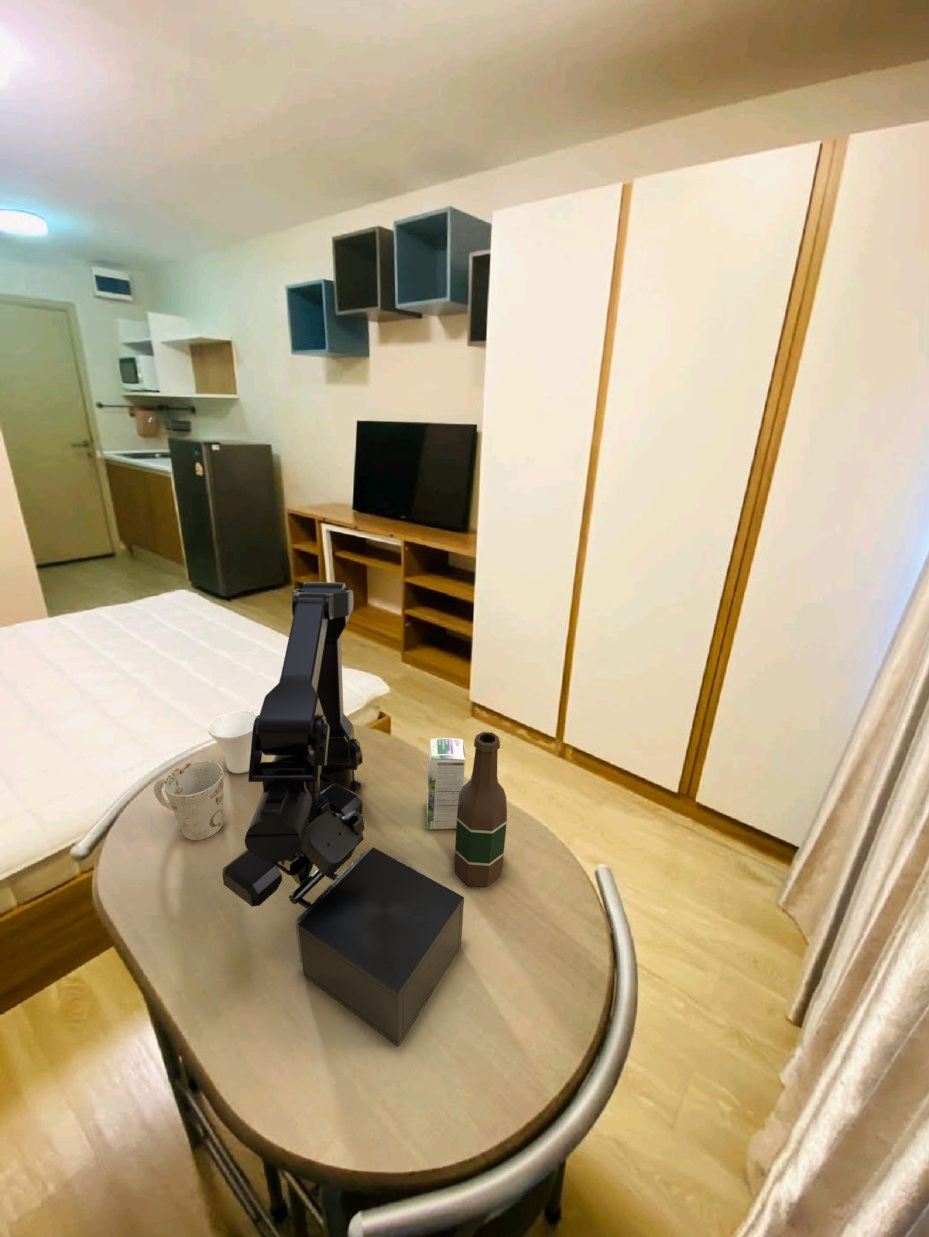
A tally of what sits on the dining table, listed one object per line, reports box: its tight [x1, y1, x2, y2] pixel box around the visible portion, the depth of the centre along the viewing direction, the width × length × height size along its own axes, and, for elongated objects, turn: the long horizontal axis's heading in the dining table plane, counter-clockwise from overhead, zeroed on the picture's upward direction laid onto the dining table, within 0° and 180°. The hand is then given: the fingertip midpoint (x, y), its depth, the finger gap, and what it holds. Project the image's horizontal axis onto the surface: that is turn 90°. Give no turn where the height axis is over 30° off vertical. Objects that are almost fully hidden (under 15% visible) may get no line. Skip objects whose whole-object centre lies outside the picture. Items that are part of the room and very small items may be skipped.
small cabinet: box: [298, 846, 465, 1048], centre depth 64 cm, size 15×14×9 cm
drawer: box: [288, 851, 368, 964], centre depth 66 cm, size 18×12×7 cm
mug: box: [153, 760, 225, 841], centre depth 84 cm, size 8×13×10 cm, turn 78°
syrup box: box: [426, 737, 466, 830], centre depth 87 cm, size 6×6×14 cm
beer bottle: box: [454, 731, 508, 887], centre depth 75 cm, size 8×8×24 cm
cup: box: [207, 709, 258, 774], centre depth 98 cm, size 9×9×10 cm
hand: (301, 883), depth 71 cm, fingers closed, pressing on drawer
